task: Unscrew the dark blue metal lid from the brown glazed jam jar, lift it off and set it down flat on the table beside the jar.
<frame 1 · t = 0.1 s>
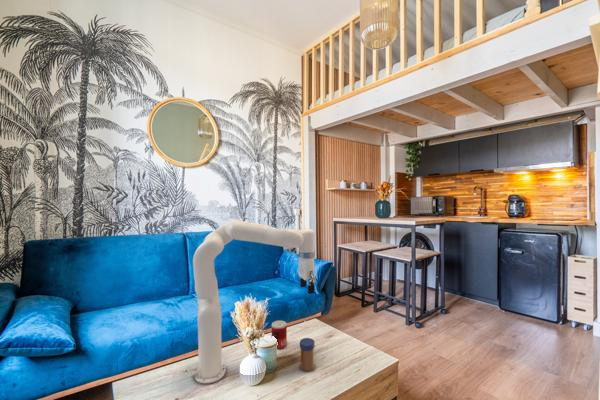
hand: (307, 290, 134), 31 cm above the table, tool pointing down, fingers open, 9 cm apart
lid: (307, 342, 124), point 11 cm above the table, screwed on, not yet turned
canned food: (279, 345, 142), on the table
jar: (307, 367, 124), on the table
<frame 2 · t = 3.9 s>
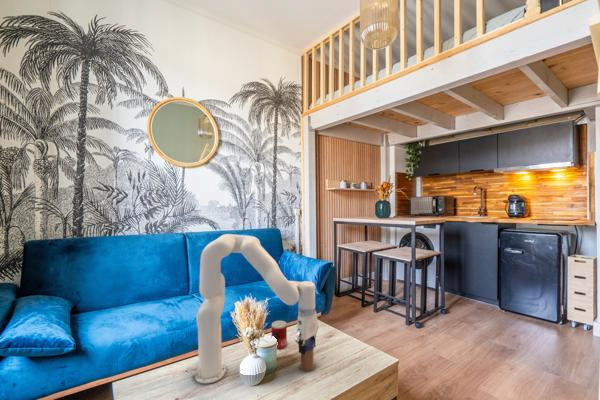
hand: (307, 349, 124), 8 cm above the table, tool pointing down, fingers closed on lid, 6 cm apart
lid: (307, 342, 124), point 11 cm above the table, screwed on, not yet turned, touching gripper
everything else where it was.
when the fingers open (8 cm above the table, at t = 6.3 s): lid stays where it is, point 11 cm above the table.
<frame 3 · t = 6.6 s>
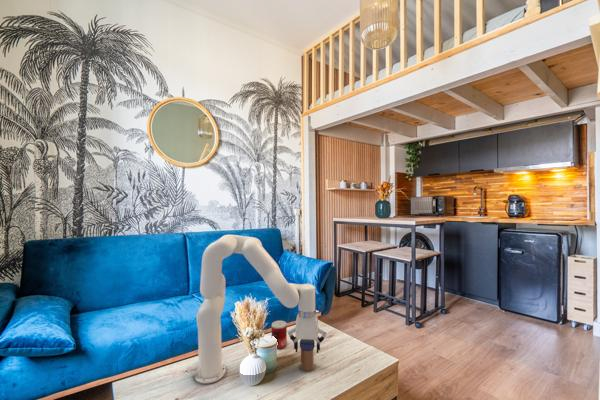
hand: (307, 350, 124), 7 cm above the table, tool pointing down, fingers open, 9 cm apart
lid: (307, 342, 124), point 11 cm above the table, turned 125° so far, risen 0.2 cm, still on its thread
everything else where it was.
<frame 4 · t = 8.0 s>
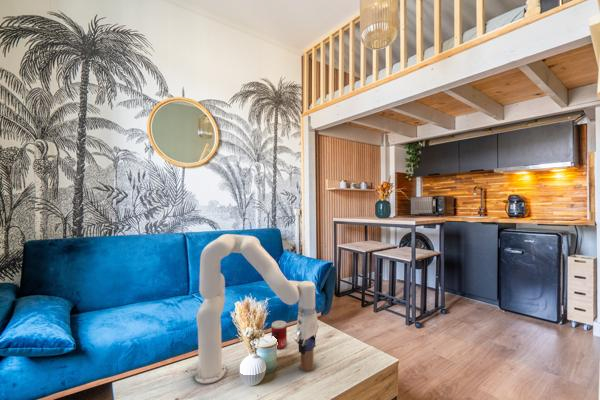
hand: (307, 349, 124), 8 cm above the table, tool pointing down, fingers closed on lid, 6 cm apart
lid: (307, 342, 124), point 11 cm above the table, turned 125° so far, risen 0.2 cm, still on its thread, touching gripper
everything else where it was.
when the fingers open (7 cm above the table, at t = 10.2 s): lid stays where it is, point 11 cm above the table.
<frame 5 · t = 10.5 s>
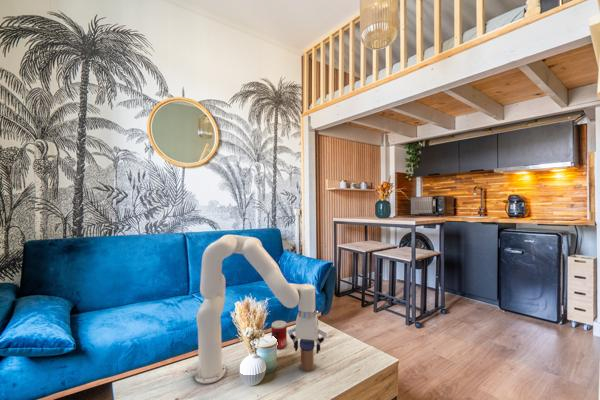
hand: (307, 350, 124), 7 cm above the table, tool pointing down, fingers open, 9 cm apart
lid: (307, 341, 124), point 11 cm above the table, turned 250° so far, risen 0.3 cm, still on its thread
everything else where it was.
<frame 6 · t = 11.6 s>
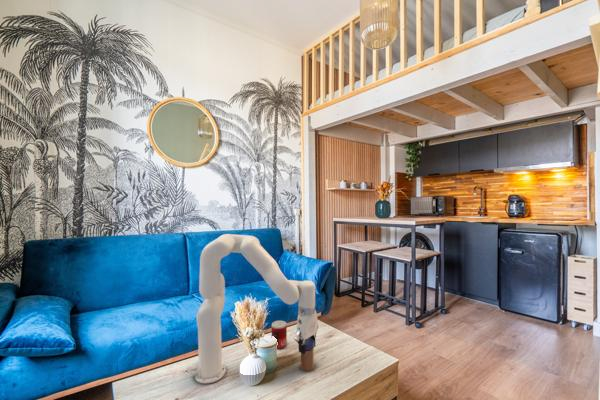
hand: (307, 348, 124), 8 cm above the table, tool pointing down, fingers closed on lid, 6 cm apart
lid: (307, 341, 124), point 11 cm above the table, turned 250° so far, risen 0.3 cm, still on its thread, touching gripper
everything else where it was.
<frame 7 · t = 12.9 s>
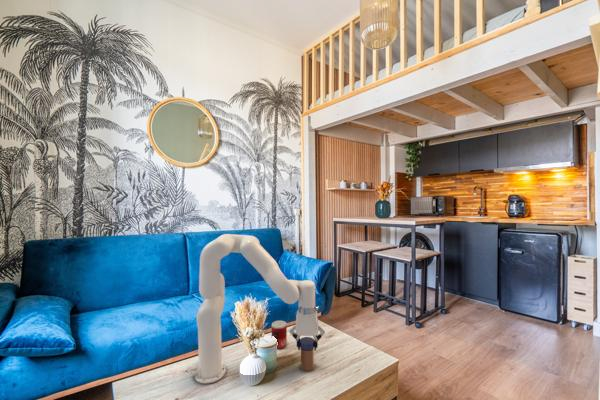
hand: (307, 348, 124), 8 cm above the table, tool pointing down, fingers closed on lid, 6 cm apart
lid: (307, 341, 124), point 12 cm above the table, off its thread, touching gripper
everything else where it was.
when the fingers open (0 cm above the table, at t = 21.5 s): lid drops 1 cm, point 2 cm above the table.
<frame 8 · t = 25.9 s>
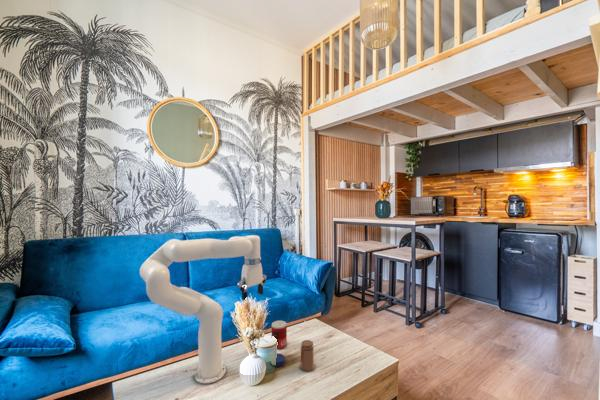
hand: (252, 296, 133), 28 cm above the table, tool pointing down, fingers open, 9 cm apart
lid: (277, 358, 127), point 2 cm above the table, off its thread
everything else where it was.
at the end: lid came off its thread; lid point 1.9 cm above the table; the gripper is holding nothing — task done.
